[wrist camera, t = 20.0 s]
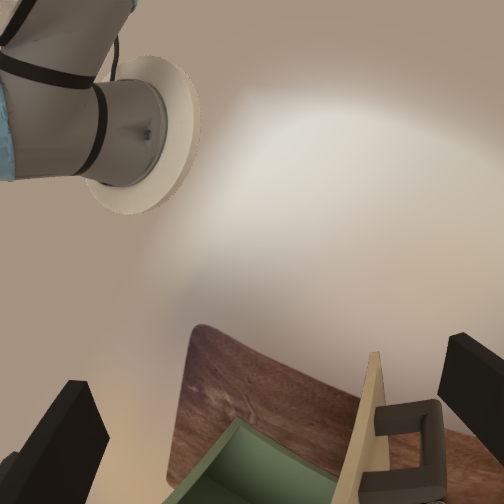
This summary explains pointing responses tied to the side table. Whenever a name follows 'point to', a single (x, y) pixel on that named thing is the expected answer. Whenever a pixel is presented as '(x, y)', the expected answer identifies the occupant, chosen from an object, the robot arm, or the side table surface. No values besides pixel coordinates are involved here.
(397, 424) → the cupboard door
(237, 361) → the side table surface
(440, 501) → the camera
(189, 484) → the cupboard
